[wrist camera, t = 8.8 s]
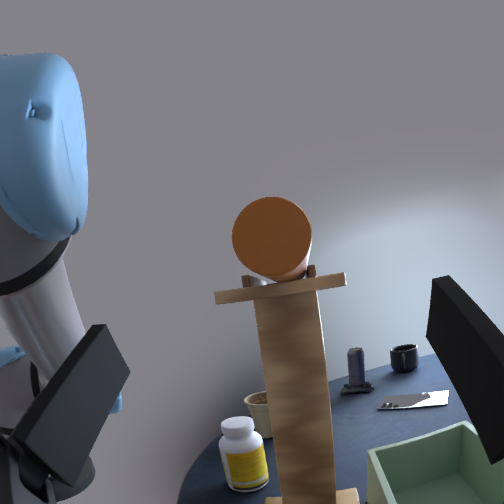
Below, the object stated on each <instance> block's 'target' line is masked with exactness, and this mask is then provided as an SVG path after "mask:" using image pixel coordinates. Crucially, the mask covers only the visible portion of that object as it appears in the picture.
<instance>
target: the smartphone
mask: <svg viewBox="0 0 504 504" xmlns="http://www.w3.org/2000/svg"><path fill="white" fill-rule="evenodd" d="M447 401H448V391H440V392H432V393H422V394H412V395H399V396H385V398H384V399H383V401H382V402H381V404H380V405H379V407H378V410H390V409H407V408H420V407H431V406H440V405H447Z"/></svg>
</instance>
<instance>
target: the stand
mask: <svg viewBox="0 0 504 504" xmlns="http://www.w3.org/2000/svg"><path fill="white" fill-rule="evenodd" d="M305 277H306V278H305V279H299V280H293V281H286V282H280V283H273V284H266V281H264V280H261V279H258V278H255V277H253V276H249V275H244V276H242V283H243V288H239V289H231V290H225V291H218V292H214V295H215V302H216V304H217V305H218V304H226V303H234V302H243V301H250V300H253V301H254V308H255V315H256V323H257V330H258V337H259V344H260V351H261V358H262V365H263V372H264V379H265V386H266V393H267V400H268V407H269V414H270V421H271V428H272V435H273V442H274V449H275V456H276V463H277V469H278V476H279V483H280V490H281V497H267V498H266V501H265V504H360V502H359V498H358V494H357V490H356V488H351V489H346V490H340V491H336V481H335V462H334V446H333V432H332V419H331V408H330V397H329V386H328V377H327V368H326V359H325V350H324V342H323V334H322V326H321V319H320V311H319V304H318V297H317V290H323V289H329V288H335V287H340V286H346V277H345V273H344V272H342V273H337V274H330V275H324V276H318V277H316V270H315V265H309V266H307V270H306V274H305Z"/></svg>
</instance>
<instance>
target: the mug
mask: <svg viewBox="0 0 504 504" xmlns="http://www.w3.org/2000/svg"><path fill="white" fill-rule="evenodd" d="M390 356H391V367H392V369H393V370H394V371H397V372H401V373H403V372H409V371H412V370H413V369H415V368H416V367H417V366H418V364H419V351H418V346H417V345H416V344H407V345H401V346H397V347H394V348H392V349H391V350H390Z"/></svg>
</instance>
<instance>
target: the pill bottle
mask: <svg viewBox="0 0 504 504" xmlns="http://www.w3.org/2000/svg"><path fill="white" fill-rule="evenodd" d="M221 429H222V433H223V434H224V436H223V437H222V438H221V439H220V441H219V449H220V454H221V458H222V462H223V467H224V471H225V475H226V480H227V483H228V486H229V487H230V488H231V489H233V490H235V491H238V492H252V491H256V490H259V489H261V488H263V487H264V486H265V485H266V484H267V483H268V480H269V476H268V470H267V464H266V457H265V451H264V445H263V440H262V437H261V435H260V434H258V433H257V432H255V431H253V430H254V423H253V419H252V418H250V417H244V416H240V417H233V418H228V419H226V420H224V421H223V422H222V423H221Z"/></svg>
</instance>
